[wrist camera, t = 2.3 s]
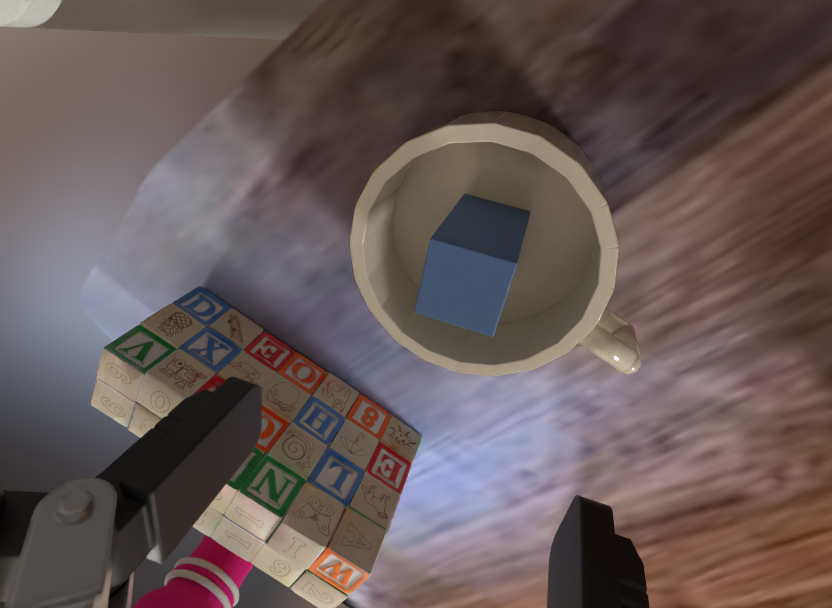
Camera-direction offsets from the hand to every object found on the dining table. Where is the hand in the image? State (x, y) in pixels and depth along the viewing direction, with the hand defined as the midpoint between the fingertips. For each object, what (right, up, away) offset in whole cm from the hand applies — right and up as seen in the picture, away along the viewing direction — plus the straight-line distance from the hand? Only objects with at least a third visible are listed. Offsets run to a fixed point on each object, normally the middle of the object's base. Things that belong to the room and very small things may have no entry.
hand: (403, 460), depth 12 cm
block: (+5, +8, +17) cm, 19 cm away
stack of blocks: (-9, -3, +28) cm, 30 cm away
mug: (+6, +7, +18) cm, 20 cm away
